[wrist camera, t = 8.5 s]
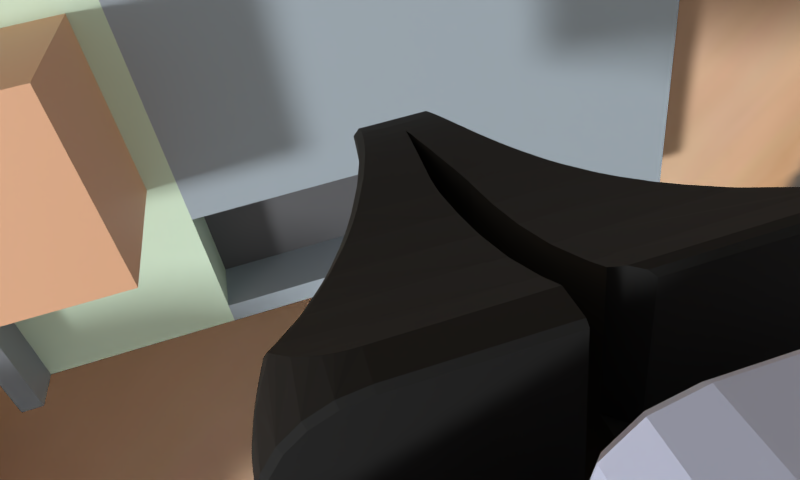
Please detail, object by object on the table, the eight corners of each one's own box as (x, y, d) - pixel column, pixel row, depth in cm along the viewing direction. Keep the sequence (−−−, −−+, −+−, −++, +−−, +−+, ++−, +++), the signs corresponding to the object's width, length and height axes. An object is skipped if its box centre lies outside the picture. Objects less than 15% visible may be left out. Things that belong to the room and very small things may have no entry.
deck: (662, -375, 14) (764, -407, 12) (625, 166, 23) (680, 214, 20) (-327, -200, 12) (-462, -193, 9) (41, 334, 20) (21, 412, 18)
